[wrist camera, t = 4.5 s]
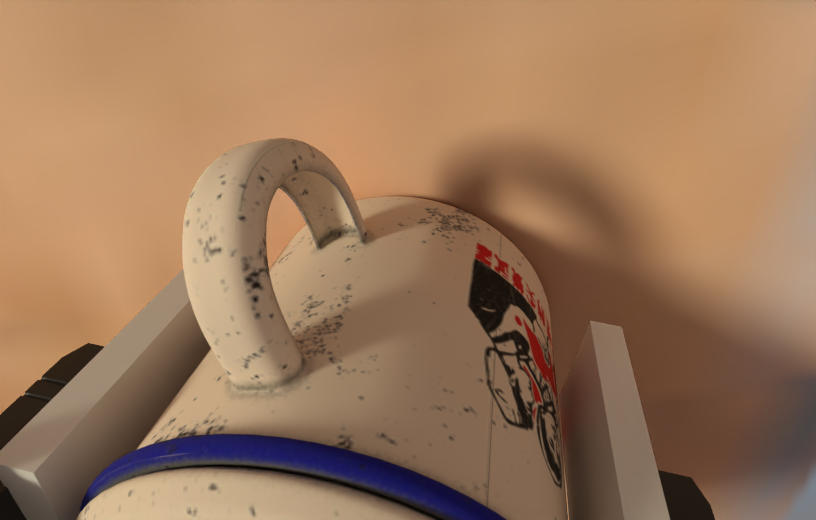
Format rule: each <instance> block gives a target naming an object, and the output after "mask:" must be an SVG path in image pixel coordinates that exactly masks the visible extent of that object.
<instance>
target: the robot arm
mask: <svg viewBox="0 0 816 520" xmlns="http://www.w3.org/2000/svg"><path fill="white" fill-rule="evenodd" d="M210 349H211V347H210V345H209V343H208V342H207V340H206V338H205V336H204V334H203V332H202V330H201V328H200V326H199V324H198V321H197V319H196V316H195V314H194V311H193V308H192V305H191V302H190V298H189V295H188V291H187V286H186V282H185V276H184V269H183V270H182V271H181V272H180V273H179V274H178V275H177V276H176V277H175V278H174V279H173V280H172V281H171V282H170V283H169V284H168V285H167V286H166V287H165V288H164V289H163V290H162V291H161V292H160V293H158V294H157V295H156V296H155V297H154V298H153V299H152V300H151V301H150V302H149V303H148V304H147V305H146V306H145V307H144V308H143V309H142V310H141V311H140V312H139V313H138V314H137V315H136V316H135V317H134V318H133V319H132V320H131V321H130V322H129V323H128V324H127V325H126V326H125V327H124V328H123V329H122V330H121V331H120V332H119V333H118V334H117V335H116V336H115V337H114V338H113V339H112V340H111V341H110V342H109V343H108V344H107V345H106V346H105V347H104V346H99V345H95V344H90V343H88V344H86V345H84V346H82V347H80V348H79V349H77V350H75V351H73V352H71V353H69V354H68V355H66V356H64V357H62V358H61V359H60V360H59V361H58V362H57V363H56V364H55V365H54V366H53V367H51V368H50V369H49V370H48V371H47V372H46V373H45V374H44V375H43V376H42V379H41V380H37V381H36V382H35V383H34V384H33V385H32V386H31V387H30V388H29V389H28V390H27V391H25V395H24V396H20V397H19V398H18V399H17V400H16V401H15V402H14V403H12V404H11V405H10V406H9V407H8V408H7V409H6V410H5V411H4V412H3V413H2V414H1V415H0V520H76V519H77V517H78V516H79V511H80V507H81V503H82V500H83V498H84V496H85V494H86V492H87V490H88V488H89V486H90V485H91V484H92V482H93V481H94V480H95V479H96V478H97V476H98V475H99V474H100V473H101V472H102V471H103V470H104V469H105V468H107V467H108V466H109V465H110V464H112V463H113V462H114V461H116V460H117V459H119V458H121V457H123V456H125V455H126V454H128V453H130V452H132V451H134V450H136V449H137V447H138V446H139V445H140V443H141V442H142V441H143V439H144V438H145V437H146V435H147V434H148V433H149V431H150V430H151V429H152V427H153V426H154V425H155V423H156V422H157V420H158V419H159V418H160V416H161V415H162V414H163V412H164V411H165V410H166V408H167V407H168V406H169V404H170V403H171V402H172V400H173V399H174V398H175V396H176V395H177V393H178V392H179V391H180V389H181V388H182V387H183V385H184V384H185V383H186V381H187V380H188V379H189V377H190V376H191V375H192V373H193V372H194V371H195V369H196V368H197V366H198V365H199V364H200V362H201V361H202V360H203V358H204V357H205V356H206V354H207V353H208V352H209V350H210ZM559 397H560V409H561V422H562V435H563V447H564V460H565V473H566V485H567V498H568V511H569V520H715V518H714V515H713V512H712V509H711V506H710V504H709V503H708V501H707V500H706V498H705V497H704V495H703V494H702V493H701V491H700V490H699V488H698V487H697V485H696V484H695V483H694V481H693V480H692V478H690V477H686V476H681V475H677V474H673V473H668V472H664V471H659V470H658V469H657V465H656V461H655V457H654V453H653V449H652V445H651V441H650V437H649V433H648V429H647V425H646V421H645V417H644V413H643V409H642V405H641V401H640V397H639V393H638V389H637V385H636V381H635V377H634V373H633V369H632V365H631V361H630V357H629V353H628V349H627V346H626V342H625V338H624V334H623V330H622V327H621V326H616V325H611V324H605V323H600V322H595V321H590V322H589V324H588V326H587V329H586V331H585V334H584V336H583V339H582V341H581V344H580V346H579V349H578V351H577V354H576V356H575V359H574V361H573V364H572V366H571V368H570V371H569V373H568V376H567V378H566V381H565V383H564V386H563V388H562V391H561V393H560V396H559Z"/></svg>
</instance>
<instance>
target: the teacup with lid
mask: <svg viewBox="0 0 816 520" xmlns="http://www.w3.org/2000/svg"><path fill="white" fill-rule="evenodd" d="M278 188H280V189H282V190H283V191H284V192H285V193H286V194H287V195H288V196H289V197H290V198H291V199H292V200H293V202H294V203H295V204H296V206H297V207H298V209H299V211H300V212H301V214H302V216H303V218H304V220H305V222H306V224H307V225H306V226H304V227H303V228H302V229H301V230H300V231H299V232H298V233H297V234H296V235H295V236H294V237H293V239H292V240H291V241H290V242H289V244H288V245H287V246H286V248H285V249H284V250H283V252H282V253H281V254H280V256H279V257H278V258H277V260H276V261H275V262H274V264H273V265H272V267H271V268H270V269H269V268H268V261H267V250H266V223H267V215H268V210H269V206H270V203H271V201H272V198H273V196H274V194H275V192H276V190H277V189H278ZM182 252H183V267H184V276H185V282H186V286H187V291H188V295H189V298H190V302H191V305H192V308H193V311H194V314H195V316H196V319H197V321H198V324H199V326H200V328H201V330H202V332H203V334H204V336H205V338H206V340H207V342H208V343H209V345H210V347H211V349H210V350H209V352H208V353H207V354H206V356H205V357H204V358H203V360H202V361H201V362H200V364H199V365H198V366H197V368H196V369H195V371H194V372H193V373H192V375H191V376H190V377H189V379H188V380H187V381H186V383H185V384H184V385H183V387H182V388H181V389H180V391H179V392H178V393H177V395H176V396H175V398H174V399H173V400H172V402H171V403H170V404H169V406H168V407H167V408H166V410H165V411H164V412H163V414H162V415H161V416H160V418H159V419H158V420H157V422H156V423H155V425H154V426H153V427H152V429H151V430H150V431H149V433H148V434H147V435H146V437H145V438H144V439H143V441H142V442H141V443H140V445H139V446H138V447H137V449H136V450H134V451H132V452H130V453H128V454H126V455H125V456H123V457H121V458H119V459H117V460H116V461H114V462H113V463H112V464H110V465H109V466H108V467H107V468H105V469H104V470H103V471H102V472H101V473H100V474H99V475H98V476H97V478H96V479H95V480H94V481H93V482H92V484H91V485H90V486H89V488H88V490H87V492H86V494H85V496H84V498H83V500H82V503H81V507H80V511H79V516H78V517H77V519H76V520H568V514H567V503H566V491H565V480H564V468H563V457H562V445H561V434H560V422H559V411H558V400H557V388H556V377H555V365H554V354H553V342H552V331H551V319H550V311H549V306H548V301H547V298H546V295H545V292H544V289H543V286H542V284H541V282H540V280H539V278H538V276H537V274H536V272H535V271H534V269H533V267H532V266H531V264H530V263H529V262H528V260H527V259H526V258H525V256H524V255H523V254H522V253H521V252H520V250H519V249H518V248H517V247H516V246H515V245H514V244H513V243H512V242H511V241H510V240H508V239H507V238H506V237H505V236H504V235H503V234H501V233H500V232H499V231H498V230H496V229H495V228H493V227H492V226H490V225H489V224H488V223H486V222H484V221H483V220H481V219H479V218H477V217H476V216H474V215H472V214H469V213H467V212H465V211H463V210H461V209H458V208H455V207H453V206H450V205H447V204H444V203H440V202H436V201H433V200H428V199H422V198H416V197H405V196H382V197H372V198H366V199H361V200H356V201H355V199H354V196H353V194H352V192H351V190H350V188H349V186H348V184H347V182H346V180H345V179H344V177H343V176H342V174H341V172H340V171H339V170H338V168H337V167H336V166H335V165H334V163H333V162H332V161H331V160H330V159H329V158H328V157H327V156H326V155H324V154H323V153H322V152H321V151H319V150H318V149H316V148H315V147H313V146H311V145H309V144H307V143H305V142H301V141H298V140H294V139H286V138H278V139H268V140H263V141H258V142H253V143H249V144H245V145H241V146H238V147H236V148H234V149H232V150H230V151H227V152H226V153H224V154H223V155H221V156H220V157H218V158H217V159H216V160H215V161H213V162H212V163H211V164H210V165H209V166H208V167H207V168H206V170H205V171H204V172H203V174H202V175H201V176H200V178H199V179H198V181H197V182H196V184H195V186H194V188H193V190H192V192H191V195H190V198H189V201H188V203H187V206H186V211H185V217H184V224H183V238H182Z"/></svg>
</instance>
